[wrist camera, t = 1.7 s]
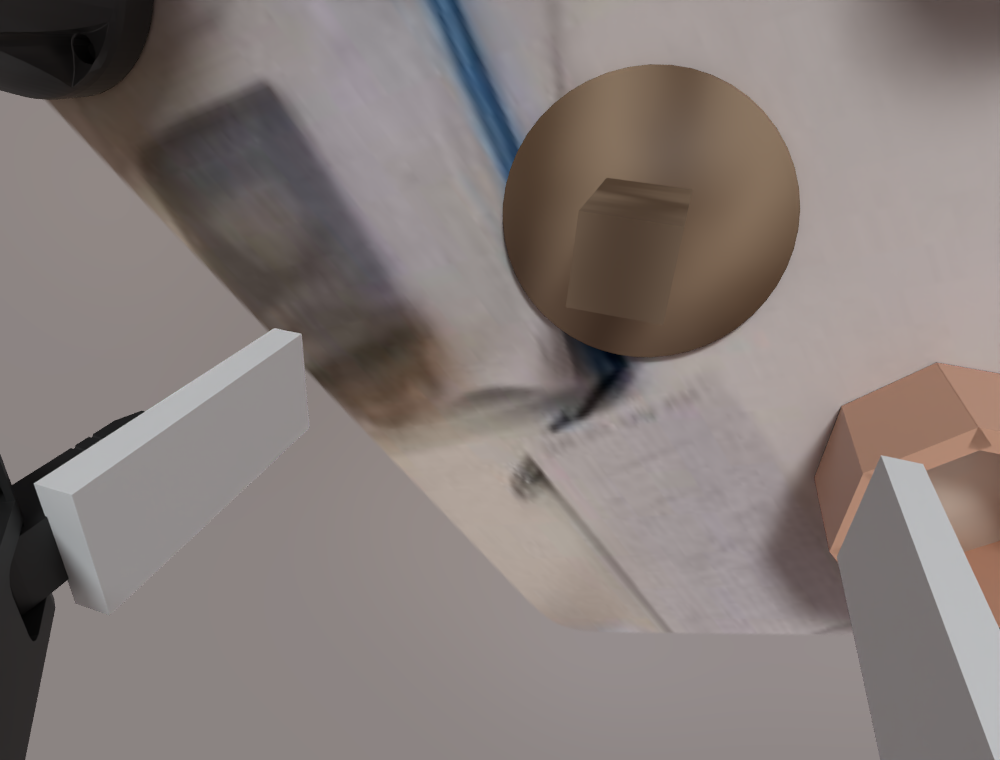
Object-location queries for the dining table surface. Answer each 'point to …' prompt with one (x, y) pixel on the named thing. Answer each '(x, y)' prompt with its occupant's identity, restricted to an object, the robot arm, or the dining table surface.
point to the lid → (651, 210)
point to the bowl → (925, 457)
